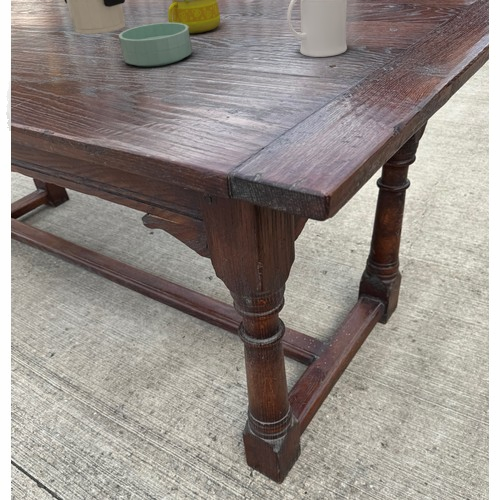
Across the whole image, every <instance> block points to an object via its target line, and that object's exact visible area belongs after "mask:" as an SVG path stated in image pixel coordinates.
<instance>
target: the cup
mask: <svg viewBox="0 0 500 500" xmlns="http://www.w3.org/2000/svg"><path fill="white" fill-rule="evenodd" d="M67 8H68V13H69V16H70V21H71V24H72V27H73V30H74V32H75V33H76V34H81V35H96V34H97V35H98V34H104V33H105V34H106V33H110V32H115V31H118V30H121V29H124V28H125V27H126V26H127V24H126V17H125V12H124V7H123V3H122V4H118V5H115V6H111V7H106V6H105V4H104V1H103V0H67Z"/></svg>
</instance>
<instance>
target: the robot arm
mask: <svg viewBox="0 0 500 500" xmlns="http://www.w3.org/2000/svg"><path fill="white" fill-rule="evenodd" d="M103 1H104V4H105V6H106V7H111V6H115V5H118V4H122V5H123V4H125V3H126V0H103ZM64 3H65V4H67V0H64ZM67 5H68V4H67Z"/></svg>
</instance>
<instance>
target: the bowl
mask: <svg viewBox="0 0 500 500" xmlns="http://www.w3.org/2000/svg"><path fill="white" fill-rule="evenodd" d="M117 37H118V40H119V45H120V49H121V54H122V59H123V61H124V63H126V64H128V65H132V66H133V65H134V66H137V67H144V68H145V67H146V68H147V67H160V66H167V65H170V64H174V63H178V62H179V61H181V60H183V59H185V58H186V57H189V56H190V55H191V54H192V52H193V46H192V40H191V33H190V32H189V26H187V25H186V24H182V23H169V22H157V23H156V22H155V23H150V24H144V25H139V26H134V27H130V28H128V29H125V30H123V31H122V32H120V33H119V34H118V36H117Z"/></svg>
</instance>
